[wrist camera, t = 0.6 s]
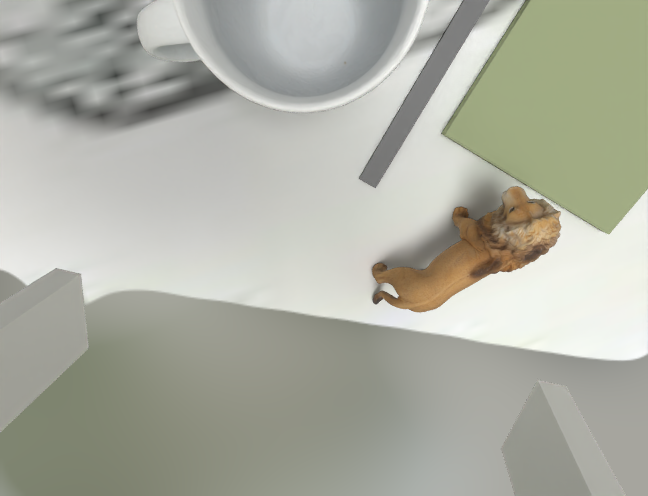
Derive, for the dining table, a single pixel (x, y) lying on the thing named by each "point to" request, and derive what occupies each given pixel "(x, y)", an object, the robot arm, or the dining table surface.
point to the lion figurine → (476, 252)
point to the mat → (566, 105)
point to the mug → (286, 45)
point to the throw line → (423, 89)
